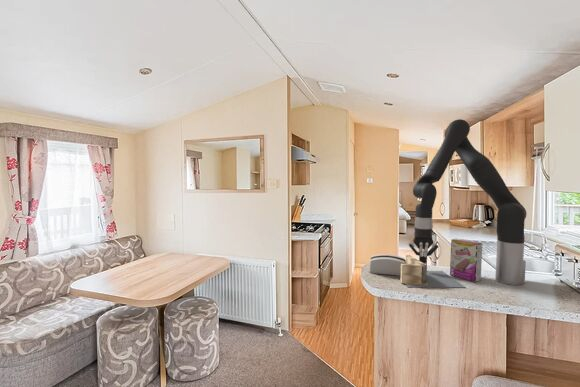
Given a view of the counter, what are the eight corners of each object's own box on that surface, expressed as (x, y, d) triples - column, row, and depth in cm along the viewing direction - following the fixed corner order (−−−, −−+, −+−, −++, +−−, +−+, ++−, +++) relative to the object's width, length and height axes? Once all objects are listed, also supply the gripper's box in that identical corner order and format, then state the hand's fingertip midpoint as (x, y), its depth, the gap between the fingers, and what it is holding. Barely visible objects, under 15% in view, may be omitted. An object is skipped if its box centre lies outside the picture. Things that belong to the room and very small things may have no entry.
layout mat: (442, 271, 142) (442, 270, 142) (465, 287, 122) (465, 287, 122) (392, 271, 143) (392, 270, 143) (407, 287, 123) (407, 286, 123)
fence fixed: (425, 283, 128) (425, 264, 127) (427, 284, 126) (427, 265, 125) (400, 282, 128) (400, 263, 128) (401, 284, 126) (402, 265, 126)
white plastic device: (407, 272, 140) (407, 253, 136) (407, 278, 136) (407, 260, 132) (370, 269, 146) (369, 251, 142) (369, 275, 142) (368, 257, 138)
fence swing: (405, 271, 141) (405, 255, 140) (409, 271, 141) (409, 255, 141) (420, 281, 128) (420, 263, 127) (424, 281, 128) (424, 263, 128)
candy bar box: (449, 275, 137) (450, 239, 136) (455, 273, 140) (456, 237, 139) (475, 282, 128) (477, 244, 127) (481, 280, 131) (483, 242, 130)
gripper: (437, 226, 141) (436, 262, 143) (406, 225, 144) (406, 261, 146) (441, 229, 134) (440, 267, 135) (409, 227, 137) (408, 265, 138)
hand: (422, 264), depth 140 cm, fingers closed
